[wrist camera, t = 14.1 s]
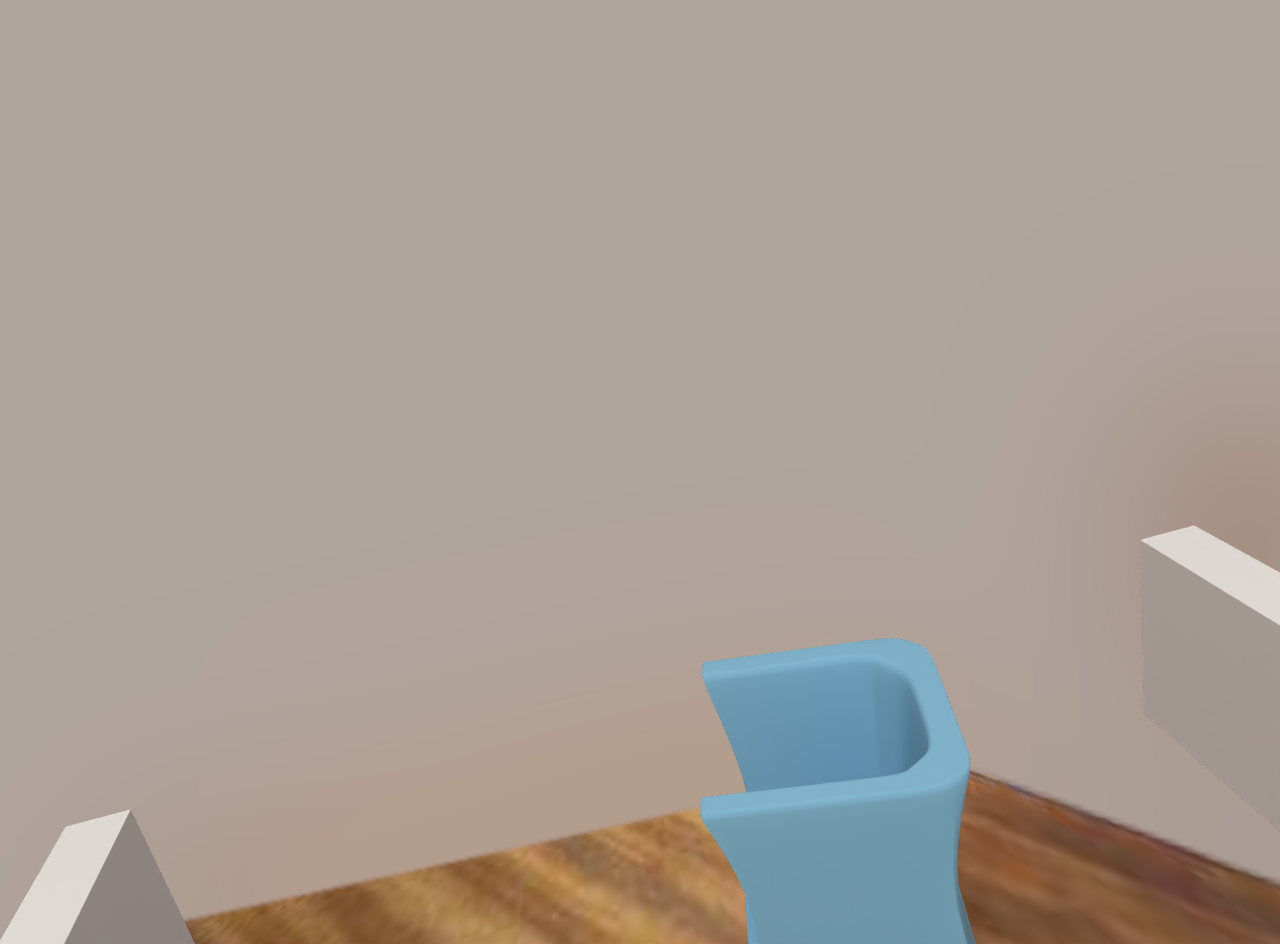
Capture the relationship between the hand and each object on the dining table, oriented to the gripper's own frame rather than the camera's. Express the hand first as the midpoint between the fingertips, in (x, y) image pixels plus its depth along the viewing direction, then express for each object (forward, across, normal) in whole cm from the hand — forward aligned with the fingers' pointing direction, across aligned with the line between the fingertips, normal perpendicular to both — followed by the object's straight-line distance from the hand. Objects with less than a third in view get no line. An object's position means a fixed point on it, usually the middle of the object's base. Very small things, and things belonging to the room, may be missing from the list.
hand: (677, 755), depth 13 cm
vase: (+15, +6, -31) cm, 35 cm away
